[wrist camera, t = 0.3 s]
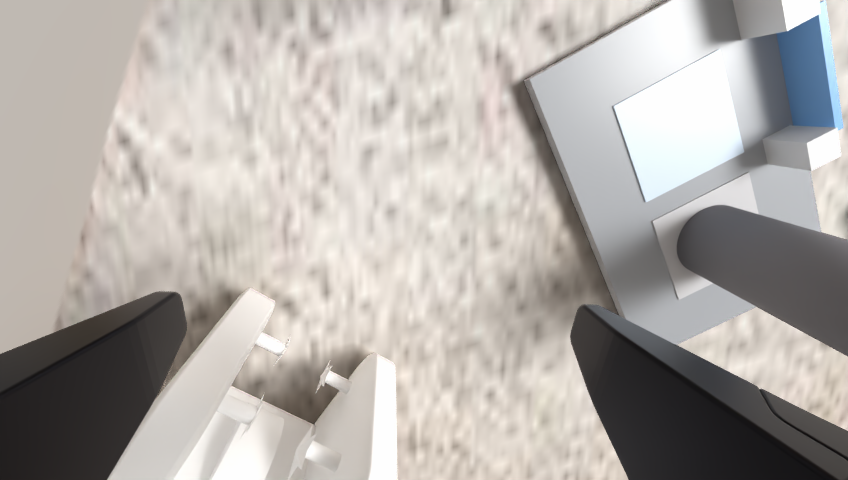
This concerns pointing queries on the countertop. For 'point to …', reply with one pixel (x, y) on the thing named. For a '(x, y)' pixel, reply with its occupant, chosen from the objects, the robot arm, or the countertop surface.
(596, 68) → the board
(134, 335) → the robot arm
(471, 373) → the countertop surface
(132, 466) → the cable organizer
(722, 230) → the grey cylinder
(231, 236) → the countertop surface
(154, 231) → the countertop surface
